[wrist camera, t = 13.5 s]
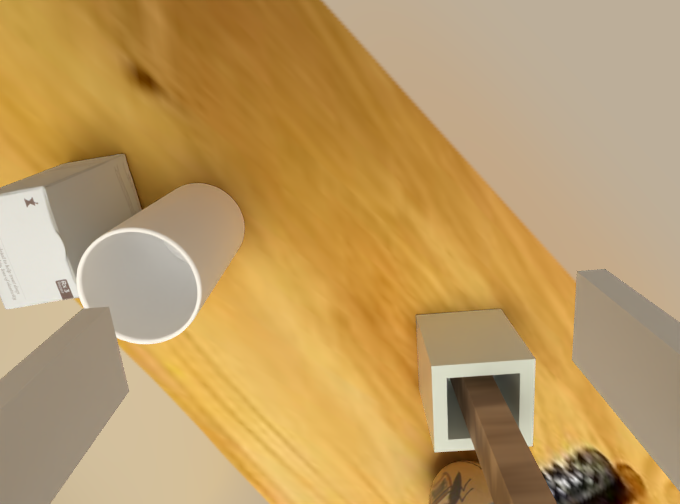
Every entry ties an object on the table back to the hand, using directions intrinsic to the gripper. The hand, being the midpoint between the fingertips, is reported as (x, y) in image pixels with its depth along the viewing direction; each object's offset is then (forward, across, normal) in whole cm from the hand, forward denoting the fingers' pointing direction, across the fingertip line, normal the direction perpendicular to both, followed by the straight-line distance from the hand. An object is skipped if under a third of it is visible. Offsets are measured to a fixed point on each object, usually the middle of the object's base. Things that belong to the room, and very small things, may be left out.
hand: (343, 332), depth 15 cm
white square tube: (+35, +10, -20) cm, 41 cm away
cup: (+35, -14, -5) cm, 38 cm away
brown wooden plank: (+34, +10, -20) cm, 41 cm away
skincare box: (+35, -22, -2) cm, 41 cm away
